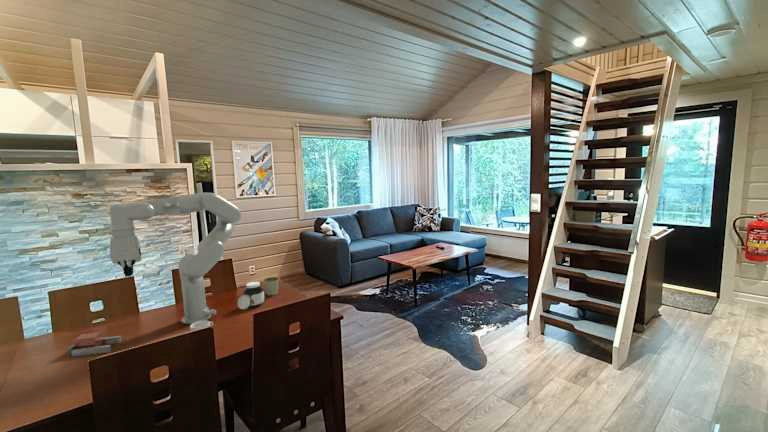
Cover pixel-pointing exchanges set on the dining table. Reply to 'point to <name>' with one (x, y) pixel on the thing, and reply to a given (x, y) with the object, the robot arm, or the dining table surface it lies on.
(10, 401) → the dining table surface
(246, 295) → the spread jar
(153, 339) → the dining table surface
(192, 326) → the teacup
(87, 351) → the hitch channel
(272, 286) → the flower pot
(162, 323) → the dining table surface
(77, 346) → the lock block
